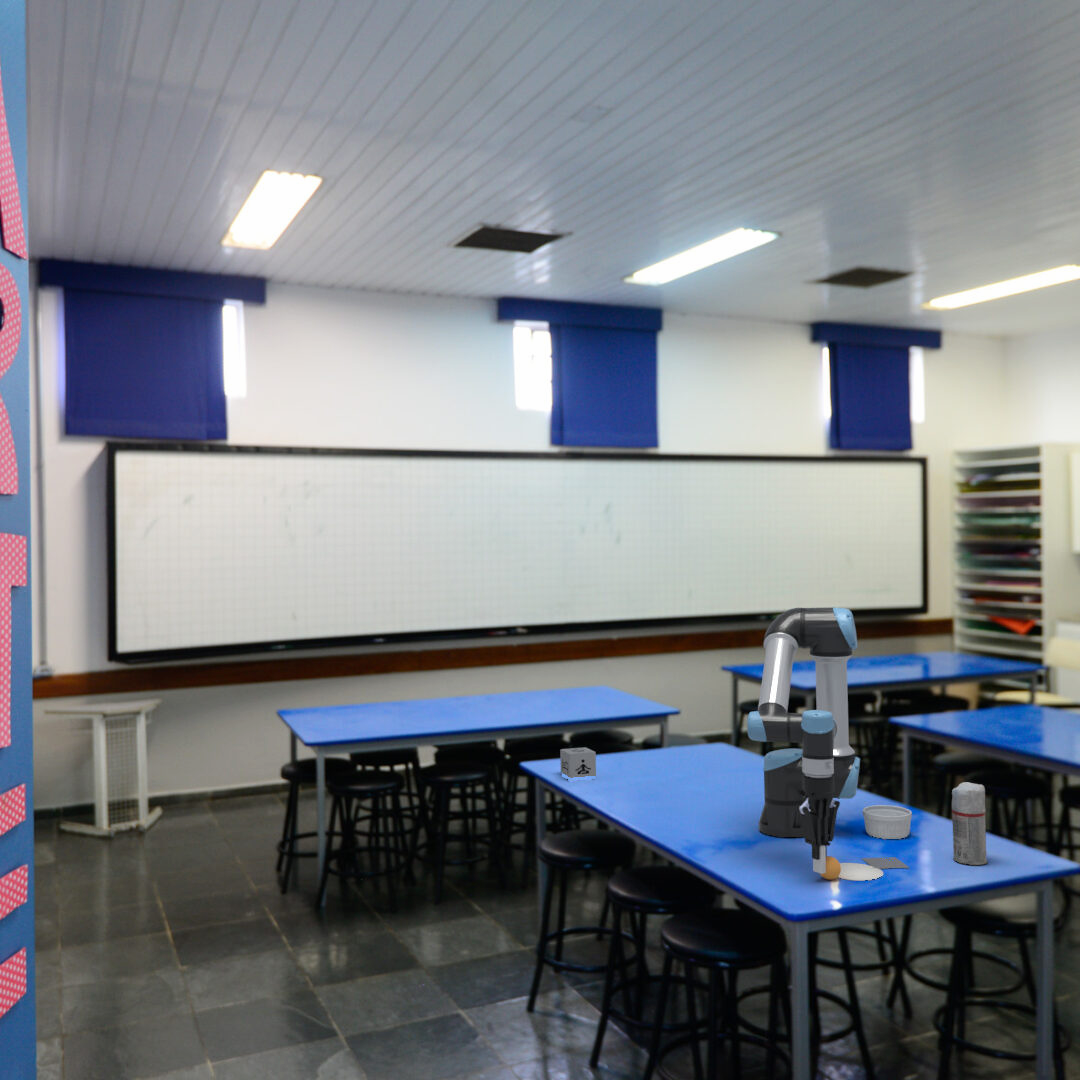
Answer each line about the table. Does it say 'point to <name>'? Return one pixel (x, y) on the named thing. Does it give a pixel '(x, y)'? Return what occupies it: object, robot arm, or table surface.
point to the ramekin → (887, 821)
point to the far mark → (885, 863)
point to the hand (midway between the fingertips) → (819, 871)
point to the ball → (831, 868)
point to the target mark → (859, 872)
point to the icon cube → (578, 762)
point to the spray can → (969, 824)
